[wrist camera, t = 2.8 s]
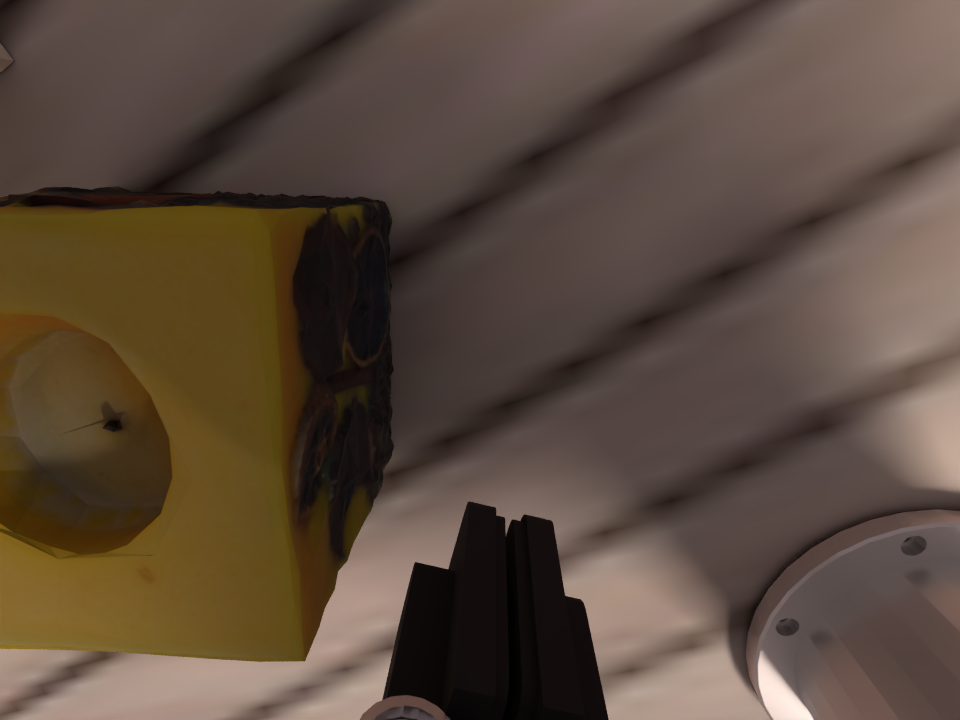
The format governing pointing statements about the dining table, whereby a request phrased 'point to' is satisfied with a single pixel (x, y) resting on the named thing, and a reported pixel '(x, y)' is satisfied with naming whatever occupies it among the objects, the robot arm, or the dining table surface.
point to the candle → (187, 416)
